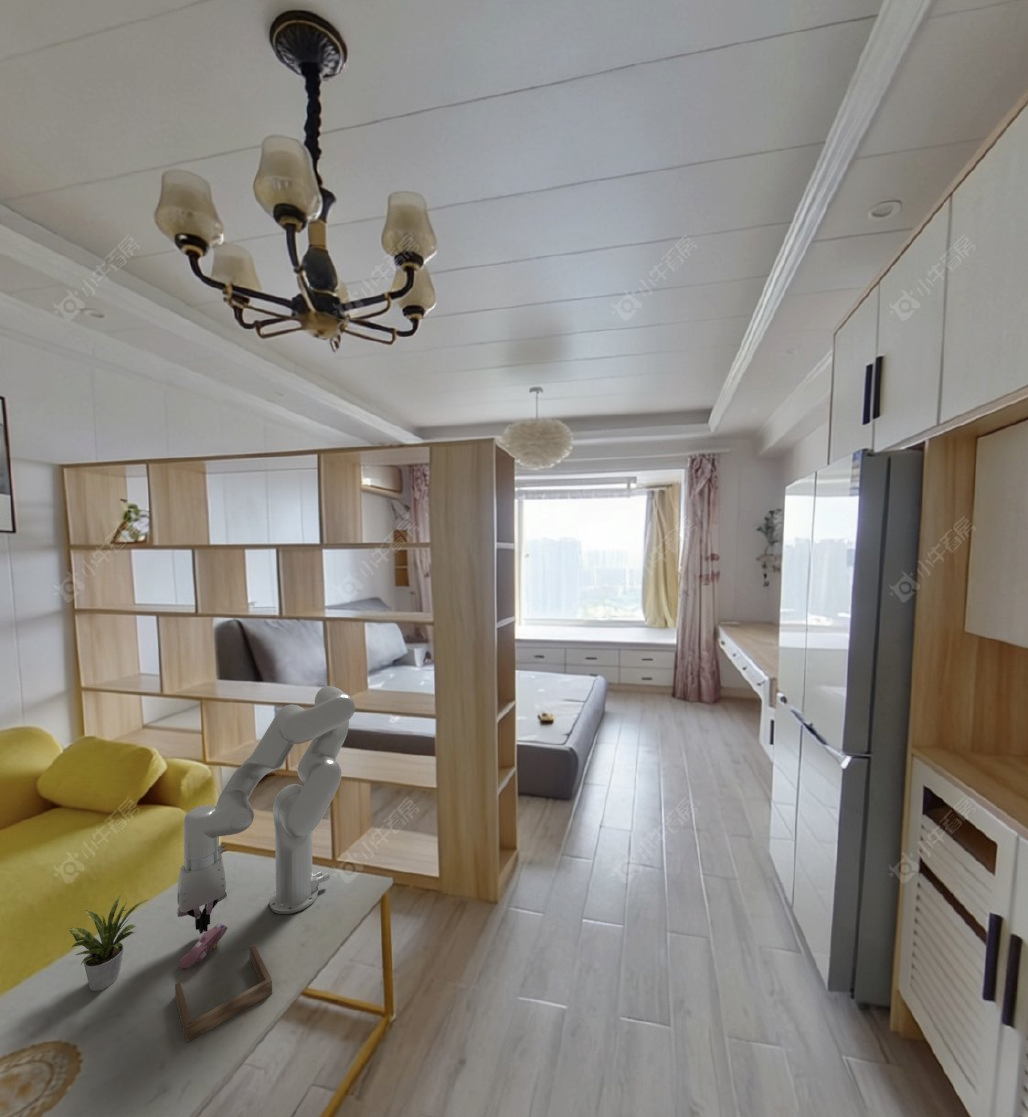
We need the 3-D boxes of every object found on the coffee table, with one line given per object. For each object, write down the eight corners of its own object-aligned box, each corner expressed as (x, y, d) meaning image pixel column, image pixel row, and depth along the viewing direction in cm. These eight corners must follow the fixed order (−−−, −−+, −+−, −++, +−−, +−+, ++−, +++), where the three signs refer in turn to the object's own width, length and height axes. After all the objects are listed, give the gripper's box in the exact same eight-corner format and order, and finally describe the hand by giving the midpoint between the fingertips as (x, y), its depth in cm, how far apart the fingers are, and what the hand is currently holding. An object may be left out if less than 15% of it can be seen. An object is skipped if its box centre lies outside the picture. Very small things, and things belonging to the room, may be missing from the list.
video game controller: (190, 978, 114) (201, 954, 113) (175, 967, 115) (186, 943, 114) (223, 945, 124) (233, 922, 123) (209, 935, 124) (219, 912, 124)
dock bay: (254, 956, 118) (254, 944, 118) (272, 993, 108) (272, 980, 108) (175, 997, 107) (175, 984, 107) (186, 1042, 97) (186, 1028, 97)
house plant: (140, 941, 123) (139, 877, 123) (157, 971, 114) (156, 902, 114) (63, 980, 112) (62, 909, 112) (76, 1016, 103) (75, 940, 103)
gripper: (231, 840, 132) (232, 907, 132) (164, 863, 122) (165, 936, 122) (238, 852, 126) (239, 922, 126) (168, 878, 116) (169, 954, 116)
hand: (202, 929), depth 124 cm, fingers closed
